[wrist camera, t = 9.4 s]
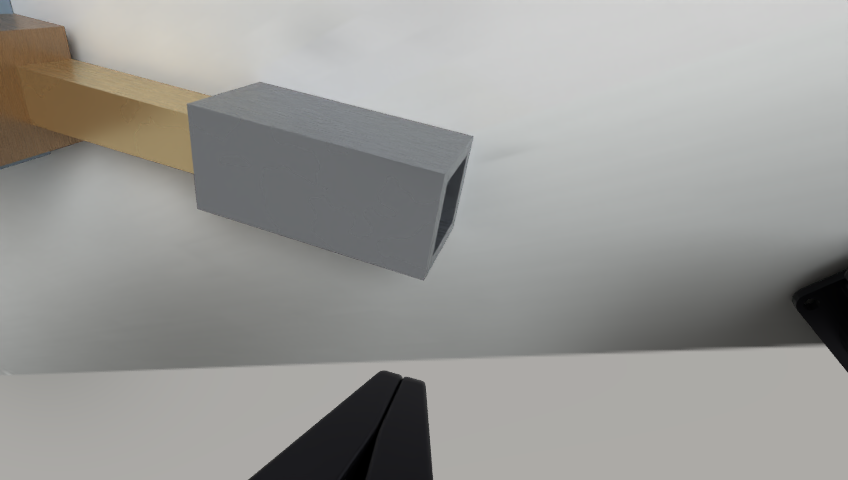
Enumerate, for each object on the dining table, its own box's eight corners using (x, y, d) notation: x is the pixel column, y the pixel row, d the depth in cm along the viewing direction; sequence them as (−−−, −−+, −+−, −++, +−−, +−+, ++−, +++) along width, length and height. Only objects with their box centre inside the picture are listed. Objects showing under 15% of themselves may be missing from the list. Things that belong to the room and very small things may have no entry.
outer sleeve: (473, 136, 19) (444, 174, 16) (453, 227, 22) (423, 280, 18) (260, 81, 21) (186, 103, 17) (261, 171, 23) (197, 208, 20)
